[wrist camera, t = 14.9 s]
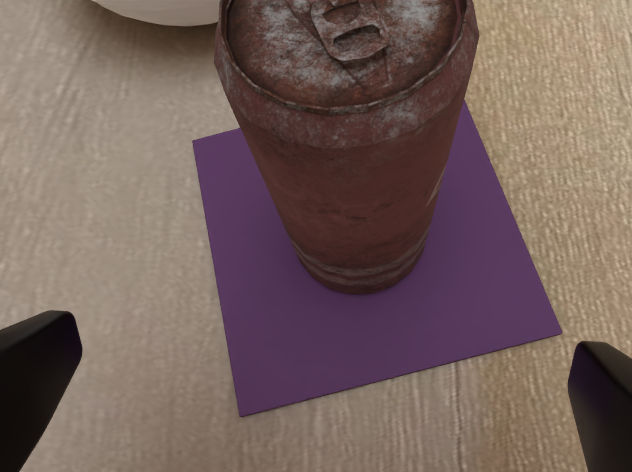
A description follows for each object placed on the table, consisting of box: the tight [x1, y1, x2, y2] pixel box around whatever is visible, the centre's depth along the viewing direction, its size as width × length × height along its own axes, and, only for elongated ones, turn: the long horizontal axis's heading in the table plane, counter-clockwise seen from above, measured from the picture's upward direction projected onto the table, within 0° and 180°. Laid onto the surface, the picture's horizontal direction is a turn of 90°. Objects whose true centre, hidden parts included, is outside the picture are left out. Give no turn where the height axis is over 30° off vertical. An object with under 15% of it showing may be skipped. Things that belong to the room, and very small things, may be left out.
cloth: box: [192, 100, 562, 417], centre depth 24 cm, size 14×14×1 cm
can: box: [214, 0, 479, 294], centre depth 17 cm, size 6×6×14 cm
